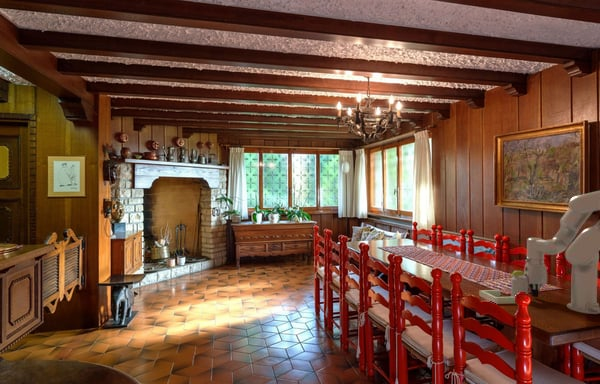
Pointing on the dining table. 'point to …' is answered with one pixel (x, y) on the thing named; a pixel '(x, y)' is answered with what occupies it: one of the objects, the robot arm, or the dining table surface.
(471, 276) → the dining table surface
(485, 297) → the pale green shallow tray
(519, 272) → the dumbbell
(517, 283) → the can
